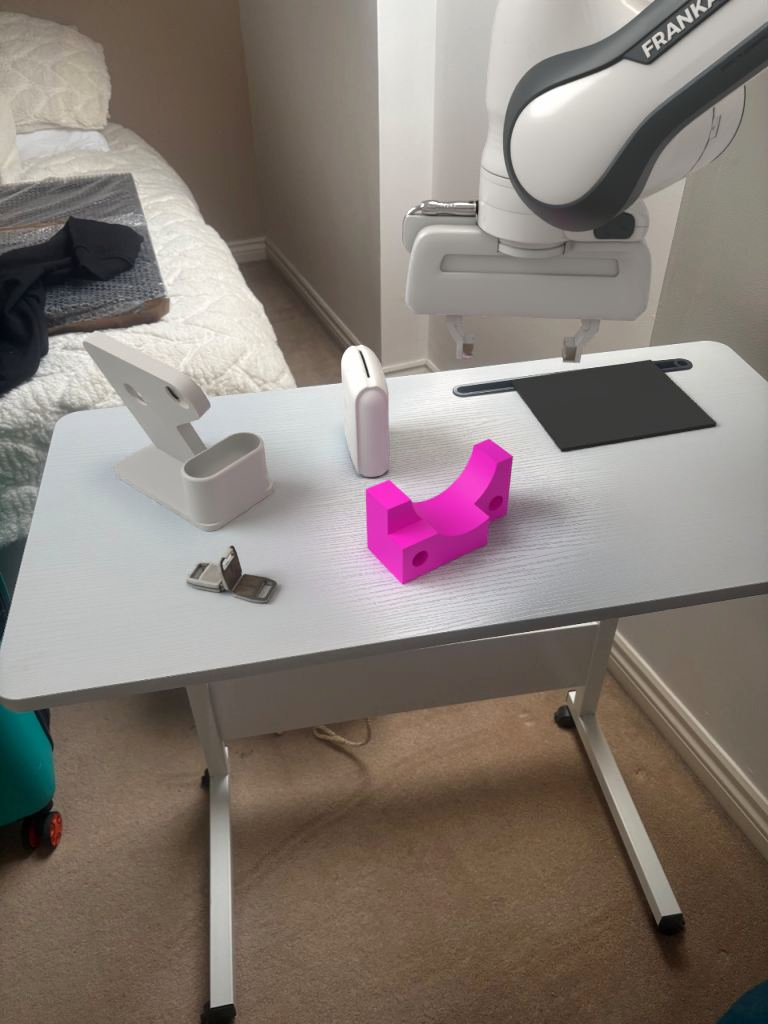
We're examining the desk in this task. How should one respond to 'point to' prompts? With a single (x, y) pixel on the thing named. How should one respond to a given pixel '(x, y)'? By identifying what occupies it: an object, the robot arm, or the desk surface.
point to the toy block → (439, 516)
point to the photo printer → (365, 410)
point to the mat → (610, 405)
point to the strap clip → (229, 578)
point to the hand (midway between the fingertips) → (517, 358)
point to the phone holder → (180, 441)
